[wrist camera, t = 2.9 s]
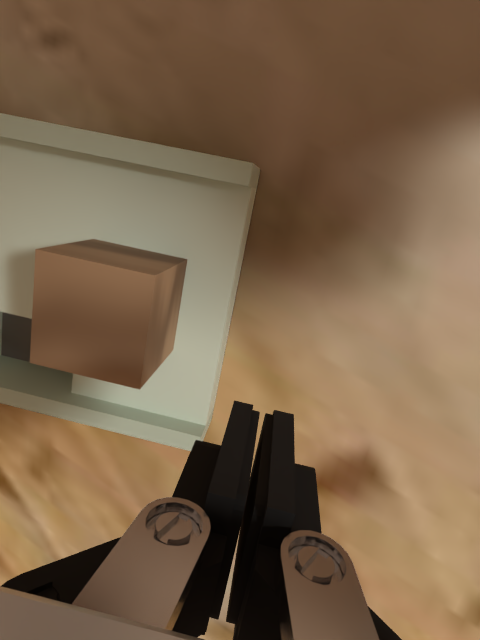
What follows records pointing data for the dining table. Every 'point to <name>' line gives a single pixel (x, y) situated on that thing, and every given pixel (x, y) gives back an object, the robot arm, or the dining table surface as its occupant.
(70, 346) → the walnut block
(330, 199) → the dining table surface
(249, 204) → the trap board
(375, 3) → the dining table surface
